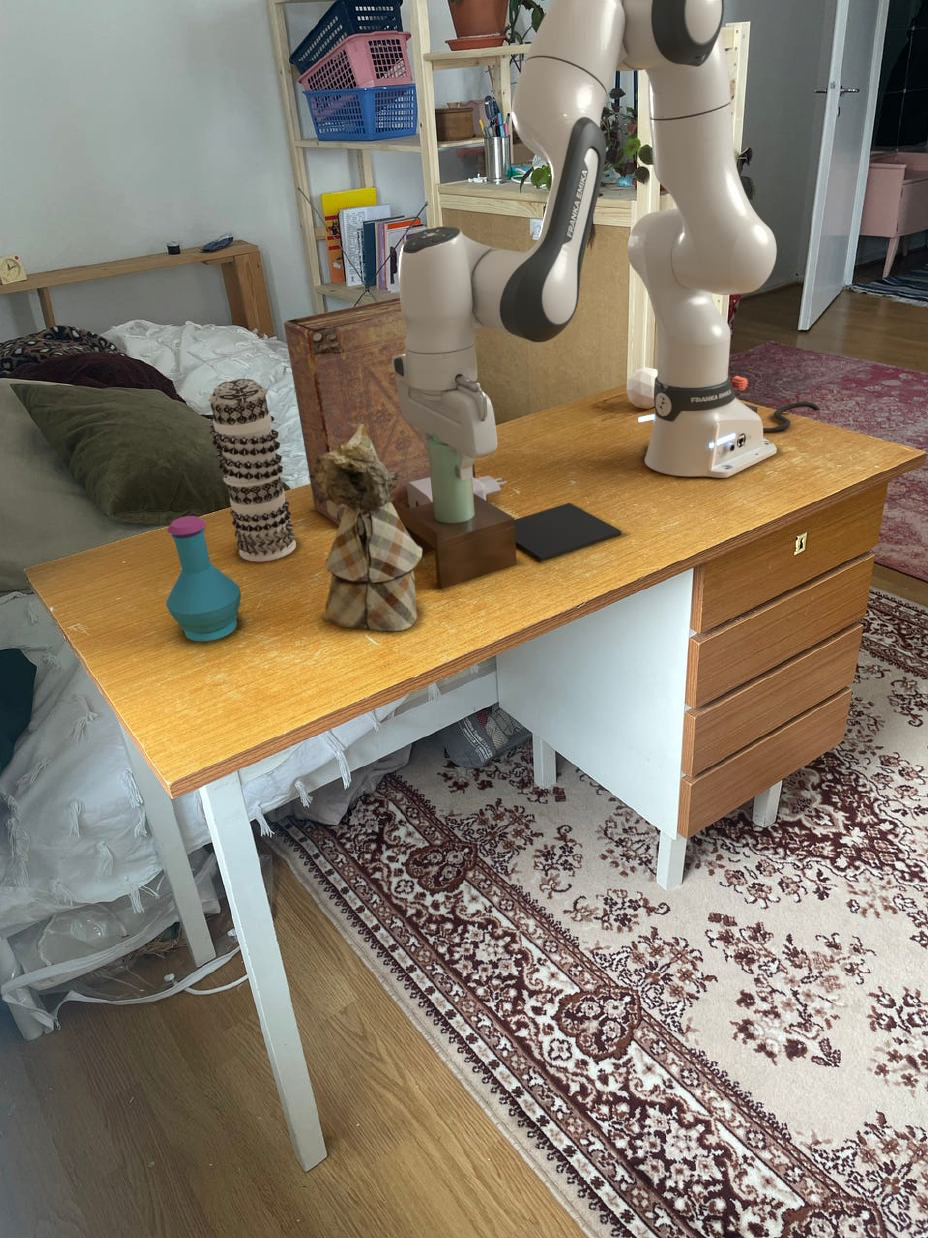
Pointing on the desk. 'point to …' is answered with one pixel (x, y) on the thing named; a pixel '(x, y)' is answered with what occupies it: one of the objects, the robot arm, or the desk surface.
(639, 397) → the geometric ball
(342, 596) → the plush toy
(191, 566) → the perfume bottle
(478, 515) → the shelf
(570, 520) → the mat
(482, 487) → the charger
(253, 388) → the decorative candle
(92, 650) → the desk surface
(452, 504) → the bottle
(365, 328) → the book
